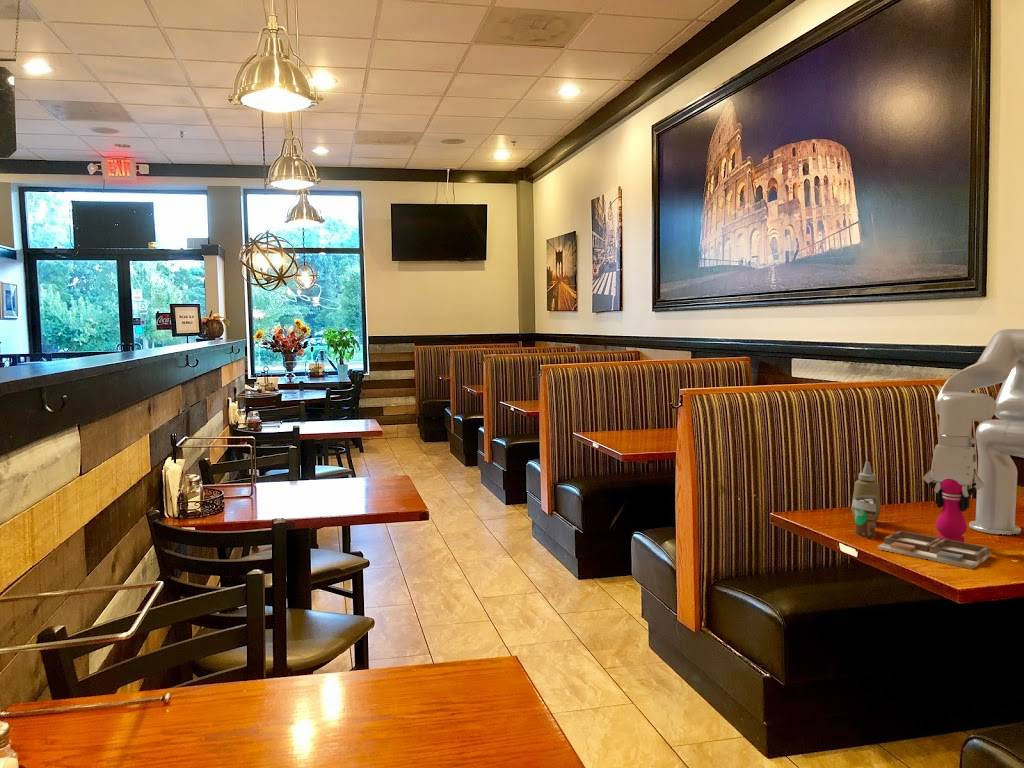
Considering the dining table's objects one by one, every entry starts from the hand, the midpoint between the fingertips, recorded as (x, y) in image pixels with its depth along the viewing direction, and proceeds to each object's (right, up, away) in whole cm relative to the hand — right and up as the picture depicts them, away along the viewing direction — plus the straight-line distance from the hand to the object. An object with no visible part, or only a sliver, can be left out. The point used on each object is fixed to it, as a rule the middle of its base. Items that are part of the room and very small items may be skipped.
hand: (952, 508), depth 206 cm
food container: (-19, -9, +10) cm, 24 cm away
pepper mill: (0, -10, +1) cm, 10 cm away
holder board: (-9, -10, -8) cm, 16 cm away
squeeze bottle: (-12, -8, +23) cm, 28 cm away
